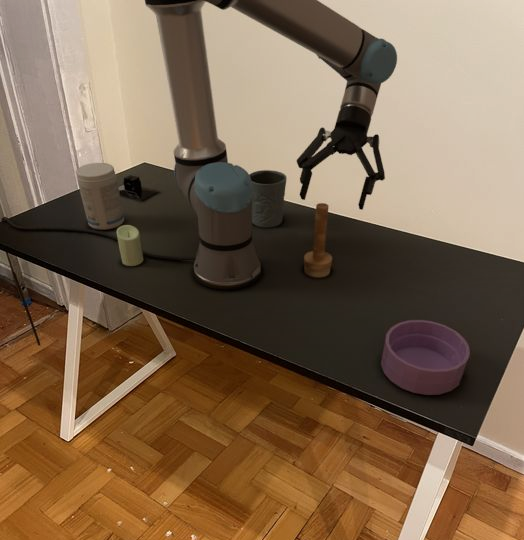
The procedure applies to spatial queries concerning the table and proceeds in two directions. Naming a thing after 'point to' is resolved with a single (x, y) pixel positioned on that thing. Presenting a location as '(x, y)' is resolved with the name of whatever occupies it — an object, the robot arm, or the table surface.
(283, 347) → the table surface
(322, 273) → the dish brush
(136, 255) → the candle
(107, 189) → the supplement tub
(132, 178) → the black stepped block
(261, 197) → the grey green cup
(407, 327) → the lilac bowl
